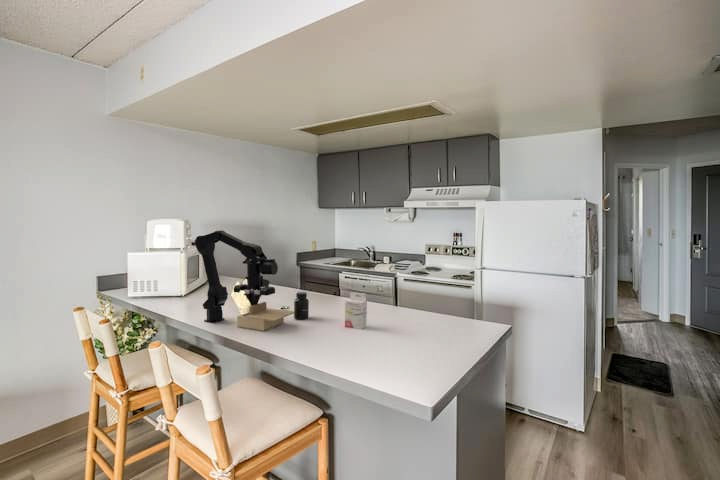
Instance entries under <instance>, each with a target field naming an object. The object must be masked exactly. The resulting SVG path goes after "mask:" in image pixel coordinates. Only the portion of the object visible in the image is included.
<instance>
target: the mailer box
mask: <svg viewBox="0 0 720 480" xmlns="http://www.w3.org/2000/svg"><path fill="white" fill-rule="evenodd" d="M248 315H250V311H249V312H245V313H242V314H239V315H237V318H236V321H237V328H239V329H243V330H249V331H250V330H251V331H258V332H263V333H264V332H267V331H269V330H271V329H274V328H275V327H277V326H279V325H282V324H284V321H285V319H284V318H285V317H284V318H281V319H279V320H277V321H267V320H260V319H253V318H246V316H248Z"/></svg>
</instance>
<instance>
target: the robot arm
mask: <svg viewBox="0 0 720 480" xmlns="http://www.w3.org/2000/svg"><path fill="white" fill-rule="evenodd" d="M219 242H221V243H223V244H226V245H227V246H229V247H231V248H234V249H236V250H237V251H239V253H240V254H241V255H242V256H244V257H245V259H244V260H243V261H242V264H245V265H246V271H247V272H246V274H247V275H246V276H245V279H244V280H247V283H246V284H245V283H240V284H236V285H234V287H233V293H241V291H243V292H244V293H243V296H245V298H246V299H247V300H248V302H249V304H250V306H253V305H256V304H259V301H260V298H261V297H262V296H270V295H273V294H275V293H276V288H275V287H274V286H270V282H271V281H270V280H269V279H266V278H264V276H263V275H266V276H267V275H269V276H270V275H271V276H275V275H277V274H278V271H279V270H278V269H279V266H278V263H277V262H276V259H275V258H271V259H270V258H269V259H268V257H267V256H266V255H265V253H264V251H263V248H262V246H260V245H258V244H255V243H251V242H246V241H244V240H242V239H240V238H238V237H235V236H233V235H232V234H229V233H228V232H226V231H224V230H215V231H213V232H210V233H208V234H205V235H204V234H203V235H198V236H196V237H195V240H194V246H195V248H196V250H197V252H198V253H199V254H200V255H201V257H202V262H203V266H204V270H205V274H206V278H207V283H208V290H207V294H206V296H207V299H206V300H205V301H204V302H203V303H202V307H203V309H204V310H206V319H204V322H207V323H213V324H215V323H218V322H221V321H224V320H225V318H224V315H223V307H222V306H225V303H226V301H227V300H228V295H229V292H228V291H227V290H228V289H227V287H226V286H224V285H222V284H221V281H220V276H219V272H218V267H217V263H216V258H215V254H214V253H215V249H216V244H217V243H219Z"/></svg>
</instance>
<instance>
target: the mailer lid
mask: <svg viewBox="0 0 720 480" xmlns="http://www.w3.org/2000/svg"><path fill="white" fill-rule="evenodd" d="M249 312H250V315H248V316H246V318H253V319H260V320H267V321H277V320H279V319H281V318H286V317H289V316H291V315H294V310H283V309H276V308H267V302H266V301H263V302H260V303H259V302H258V304H256V305H253V306H251V305H250V306H249Z"/></svg>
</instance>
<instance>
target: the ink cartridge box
mask: <svg viewBox="0 0 720 480" xmlns="http://www.w3.org/2000/svg"><path fill="white" fill-rule="evenodd" d="M367 304H368V301H367V294H366V293H362V292H353V291H350V292H349V298H348V299H346V300H345V301H344V327H345V328H351V329H357V330H363V329H365V328H366V327H367V323H368V321H367V320H368V319H367V317H368V316H367V315H368V314H367V312H368V310H367V309H368V305H367Z"/></svg>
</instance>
